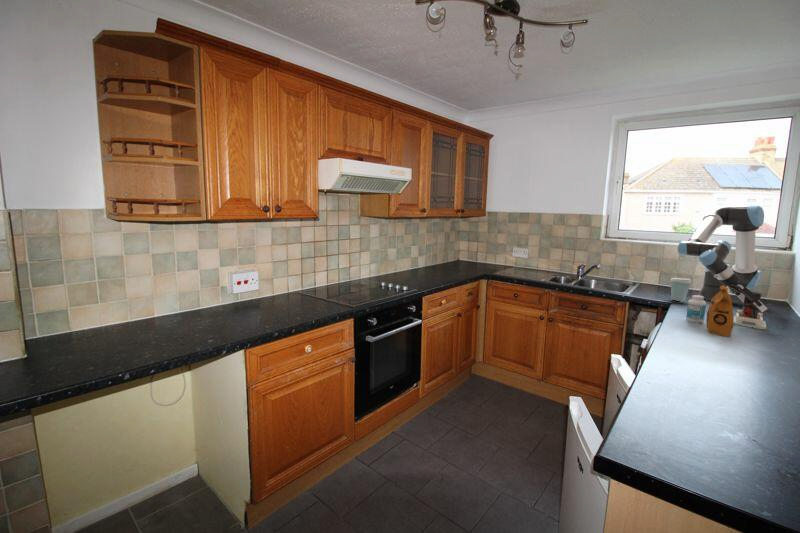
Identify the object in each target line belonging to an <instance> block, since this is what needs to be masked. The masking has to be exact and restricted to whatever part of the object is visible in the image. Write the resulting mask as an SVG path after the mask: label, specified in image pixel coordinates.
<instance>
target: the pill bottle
mask: <svg viewBox="0 0 800 533" xmlns="http://www.w3.org/2000/svg"><path fill="white" fill-rule="evenodd" d="M706 307H707V302H706V300H704V297H703V296H699V294H698V295H697V294H694V295H691V299H689V300H688V302H687V308H686V309H687V310H686V315H685V316H686V317H685V320H686V321H688V322H690V323H697V324H701V323H704V321H705V315H706V309H707V308H706Z"/></svg>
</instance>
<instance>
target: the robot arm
mask: <svg viewBox="0 0 800 533" xmlns="http://www.w3.org/2000/svg"><path fill="white" fill-rule="evenodd" d="M764 221H765V211H764V209H763V207H761V206H759V205H754V204H753V205H752V204H751V205H747V204H746V205H745V204H743V205H740V204H739V205H735V204H734V205H733V204H732V205H731V204H726V205H722V206H718V207H716V208H714V209H712V210H710V211H709V212H707V213H706V214H705V215H704V216H703V218H702V222H701V224H700V225H699V226H698V227H697V228H696V230H695V231H694V232H693V234H692V235H691V236H690V238H689V239H688V240H687V241H685V240H683V241H680V242H679V243H678V246H677V253H678V254H680V255H684V256H691V257H692V256H693V257H698V261H700V262H701V264H702V265H703V266H704V267H705V271H704V280H703V286H702V288H701V289H700V291H699V293H698V295H699V296H703V297H704V299H706V300H705V301H708V300H712V298H713V297H714V296H715V295H716V294H718V293H719V292H720V291H721V289H720V286H725V287H727V288H728V290H730V292H731V293H732V294H733V295H735V296H737V298H738V299H739V300H740V301H741V302H742V303H743V304H744V298H745V296H746V297H747V298H748V299H750V300H751V301H752V302H751V303H753V304H754V305H755V306H756V307H757V308H758V311H760V313H764V312H765V311H767V310H768V307H767V306H766V305H764V303H763V302H762V301H761V299H760V300H759V298H758V297H757V296H756V295H755V294H753V293H752V292H753V291H751V290H753V289H755V288H757V286H758V284H759V282H760V279H761V276H762V270H759V268H758V265H756V264H755V256H756V254H755V253H756V252H755V251H756V233H757V230H759V229H760V228H761V227H762V226H763V225H764ZM721 226H732V230H733V231H734V232H735V262H734V263H735V264H733V265H732V266H731V265H730V264H729V263H728V264H727V263H726V262H725V259H726V258H727V256H728V255H729V254H730V252H731V250H732V246H731V244H730V243H729V242H728V241H726V240H717V241H715V242H714V243H709V242H708V240H709V239H710V237H711V236H712V235H713V234H714V233H715V231H716V230H717V229H718V228H720V227H721ZM750 289H751V290H750ZM704 299H703V300H704Z"/></svg>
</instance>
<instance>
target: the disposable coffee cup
mask: <svg viewBox="0 0 800 533" xmlns="http://www.w3.org/2000/svg"><path fill="white" fill-rule="evenodd" d="M691 284H692V280H691V279H690V278H683V277H682V278H681V277H671V278H670V292H671V293H670V295H671V296H670V299H671V301H672V300H676V301H684V302H685V300H686V298H687V295H688V291H689V289H690V288H691V287H690V286H691Z"/></svg>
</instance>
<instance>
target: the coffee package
mask: <svg viewBox="0 0 800 533" xmlns="http://www.w3.org/2000/svg"><path fill="white" fill-rule="evenodd" d="M720 289H721V291H720V292H719V293H718V294H716V295H715V296H714V297H713V298H712V300H711V301H710V303H709V306H708V310H707V312H706V321H705V326H706V329H707V331H708V333H709V334H710V335H715V336H722V337H729V338H730V336H731V333H732V332H733V327H734V324H733V319H734V317H735V315H734V308H733V303H732V298H731V296H730V293H729V292H728V290H729V287H728V286H727V287H725V286H720Z"/></svg>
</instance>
